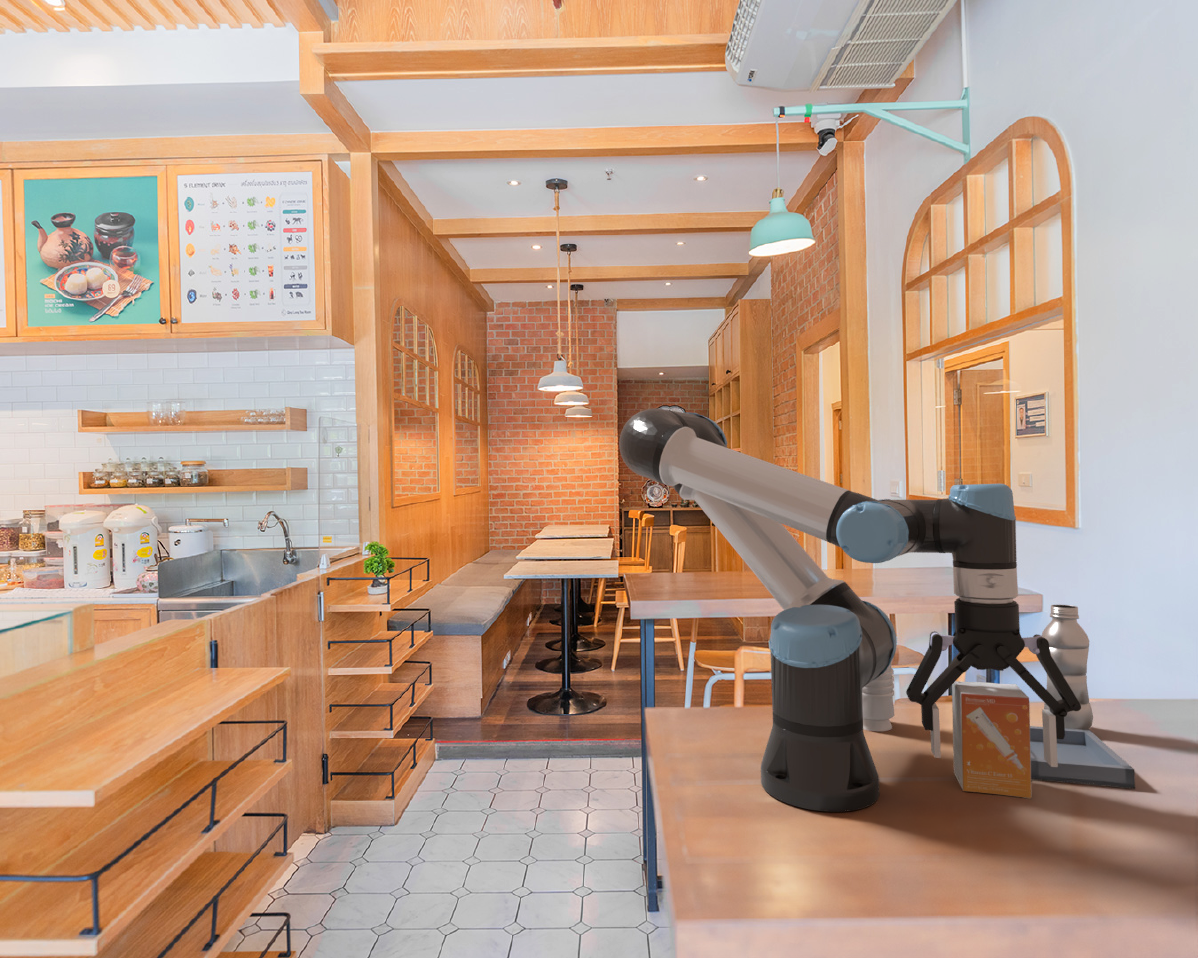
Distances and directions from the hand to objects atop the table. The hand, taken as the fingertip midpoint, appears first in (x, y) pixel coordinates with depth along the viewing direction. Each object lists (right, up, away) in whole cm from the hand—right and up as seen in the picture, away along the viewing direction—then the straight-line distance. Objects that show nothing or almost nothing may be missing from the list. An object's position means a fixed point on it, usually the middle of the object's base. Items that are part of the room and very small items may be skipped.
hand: (992, 758), depth 91 cm
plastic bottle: (+24, -4, +20) cm, 31 cm away
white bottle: (-6, -4, +24) cm, 25 cm away
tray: (+14, -3, +7) cm, 16 cm away
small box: (0, -4, 0) cm, 4 cm away
